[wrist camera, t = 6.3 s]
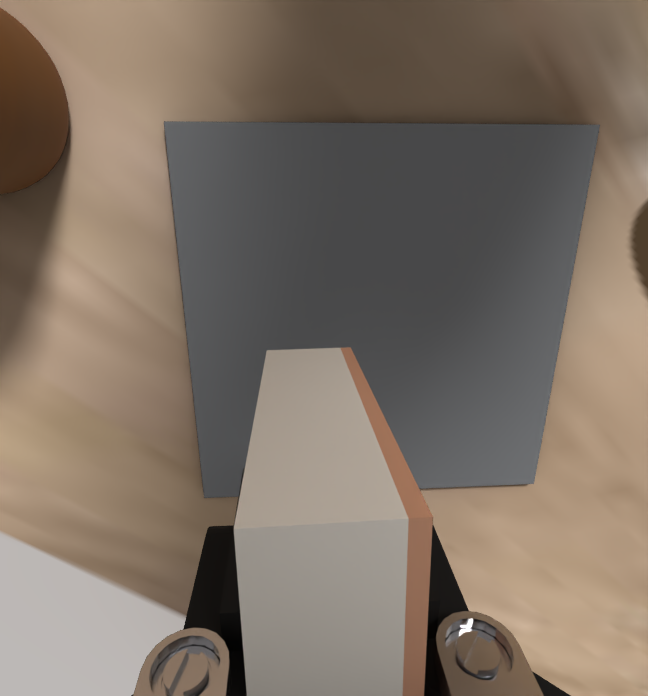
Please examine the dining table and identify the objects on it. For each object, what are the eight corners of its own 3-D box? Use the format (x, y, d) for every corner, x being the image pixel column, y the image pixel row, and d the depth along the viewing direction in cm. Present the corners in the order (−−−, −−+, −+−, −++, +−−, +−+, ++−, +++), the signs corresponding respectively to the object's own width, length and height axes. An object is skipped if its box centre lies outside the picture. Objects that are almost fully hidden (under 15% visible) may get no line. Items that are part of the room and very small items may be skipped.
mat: (166, 122, 21) (163, 121, 20) (594, 125, 22) (599, 124, 22) (205, 493, 28) (204, 497, 27) (530, 479, 29) (533, 483, 28)
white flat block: (266, 350, 13) (233, 528, 5) (350, 347, 13) (432, 516, 6) (277, 558, 15) (263, 912, 7) (351, 553, 15) (414, 895, 7)
